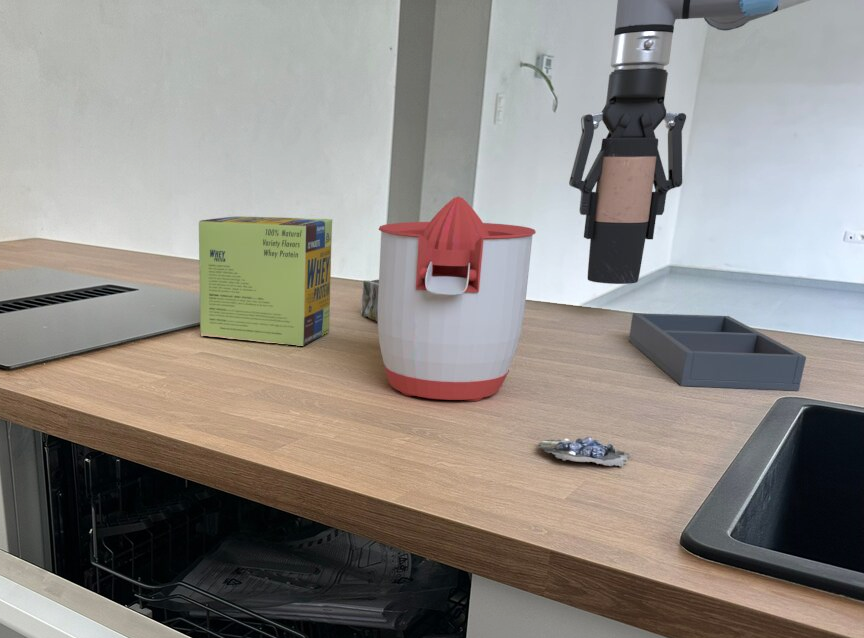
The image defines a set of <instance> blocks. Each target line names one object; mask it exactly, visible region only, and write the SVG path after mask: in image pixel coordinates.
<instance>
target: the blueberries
mask: <svg viewBox="0 0 864 638" xmlns="http://www.w3.org/2000/svg"><path fill="white" fill-rule="evenodd" d="M536 448H537V449H542V450H543V452H544V453H547V454H550V453H551V454H552V455H554V456H555V457H554V458H556V459H561V460H562V461H564V462H566V461H567V460H568V461H571V462H577V463H578V462H580V463H586V462H587V463H590V462H592V463H595V464H597V465H599V464H600V465H603V466H609V467H612V466H616V467H617V466H619V467H621V468H622V467H624V465H625V464H627V461H628V459H629V457H631V454H630V453H628V452H626V451H625V450H623V451H622V450H620V449H618V448H617V447H614V446H613V444H612V443H608V444H603V443H602V441H600V440H598V439H593V438H592V437H591V436H588V437H585V438H581V437H580V438H577V439H576V440H575V441H570V439H569V438H567V437H564V439H562V440H561V439H544V440H540V441H539V443H538V445H537V446H536Z"/></svg>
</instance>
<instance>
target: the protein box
mask: <svg viewBox="0 0 864 638" xmlns="http://www.w3.org/2000/svg"><path fill="white" fill-rule="evenodd" d="M332 235H333V219H331V218H302V217H301V218H300V217H278V216H277V217H274V216H273V217H271V216H241V215H240V216H239V215H238V216H235V215H234V216H225V217H216V218H209V219H201V220H199V221H198V261H199V262H198V263H199V334H200V333H203V334H210V335H218V336H225V337H234V338H242V339H252V340H261V341H269V342H276V343H284V344H294V345H300V346H303V347H305V346H307V345H308V344H310V343H312V342H314V341H316V340H318V339H319V338H322V337H323V336H325V335H327V334H329V333H330V320H331V319H330V318H331V316H330V314H331V277H332V276H331V274H332V273H331V271H332V270H331V269H332V240H333V239H332V237H333V236H332ZM328 332H329V333H328ZM326 333H327V334H326ZM324 334H325V335H324ZM317 338H318V339H317ZM315 339H316V340H315ZM313 340H314V341H313ZM311 341H312V342H311ZM309 342H310V343H309ZM307 343H308V344H307ZM306 344H307V345H306ZM304 345H305V346H304Z"/></svg>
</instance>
